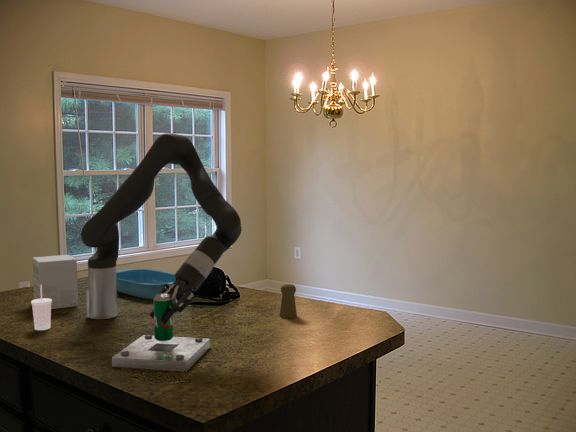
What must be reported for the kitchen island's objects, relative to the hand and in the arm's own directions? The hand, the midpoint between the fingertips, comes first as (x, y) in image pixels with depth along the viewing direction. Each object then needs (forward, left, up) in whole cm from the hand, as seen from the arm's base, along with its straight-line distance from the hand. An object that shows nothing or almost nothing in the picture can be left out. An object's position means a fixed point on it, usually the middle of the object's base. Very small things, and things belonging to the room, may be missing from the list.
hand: (157, 319), depth 159 cm
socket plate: (+1, +1, -11) cm, 11 cm away
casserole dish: (-35, +76, -11) cm, 85 cm away
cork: (+27, +49, -11) cm, 57 cm away
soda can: (+1, +2, -6) cm, 6 cm away
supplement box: (-60, +49, -11) cm, 78 cm away
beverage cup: (-47, +20, -11) cm, 52 cm away
